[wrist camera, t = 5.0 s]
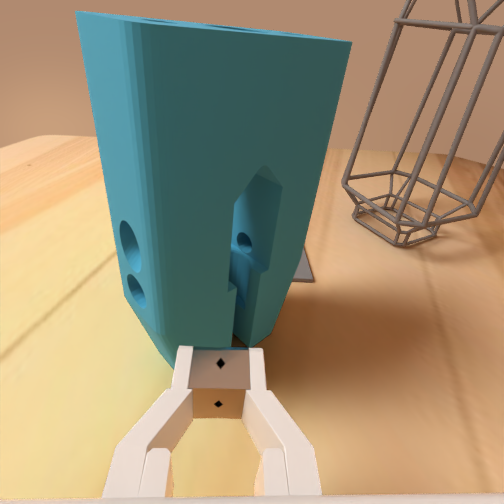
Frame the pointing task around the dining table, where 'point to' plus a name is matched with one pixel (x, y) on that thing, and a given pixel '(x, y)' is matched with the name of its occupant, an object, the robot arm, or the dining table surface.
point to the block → (209, 166)
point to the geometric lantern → (457, 28)
